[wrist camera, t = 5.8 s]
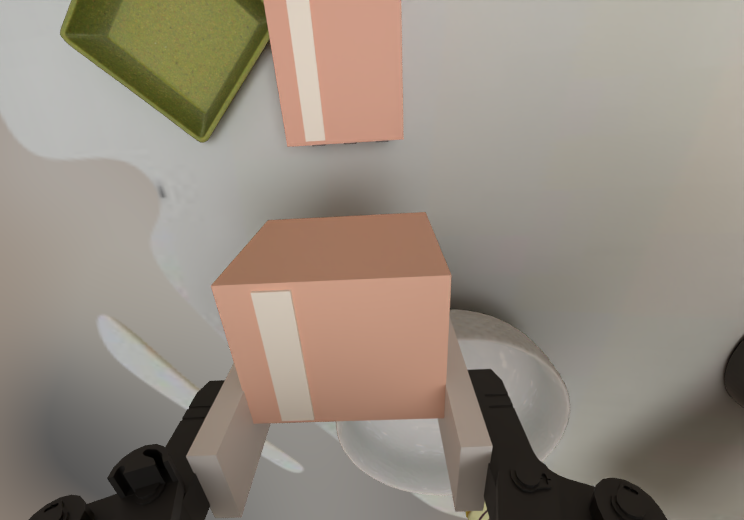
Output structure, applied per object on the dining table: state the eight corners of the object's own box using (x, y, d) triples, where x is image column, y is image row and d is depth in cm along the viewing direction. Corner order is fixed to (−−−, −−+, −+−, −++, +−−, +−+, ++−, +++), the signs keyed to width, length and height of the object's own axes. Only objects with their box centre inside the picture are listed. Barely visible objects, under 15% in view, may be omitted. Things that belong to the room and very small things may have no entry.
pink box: (424, 321, 15) (445, 420, 10) (289, 326, 15) (251, 426, 11) (425, 212, 13) (452, 277, 8) (268, 220, 13) (209, 287, 9)
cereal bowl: (550, 281, 27) (604, 339, 21) (511, 422, 35) (542, 496, 29) (338, 281, 27) (328, 340, 21) (345, 422, 35) (339, 497, 29)
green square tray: (148, -115, 17) (121, -140, 15) (292, 21, 20) (284, 14, 18) (85, 40, 20) (56, 36, 18) (217, 141, 23) (203, 146, 21)
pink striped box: (397, 138, 22) (403, 151, 18) (305, 144, 22) (289, 159, 18) (392, -54, 18) (399, -102, 13) (278, -46, 18) (247, -90, 14)
